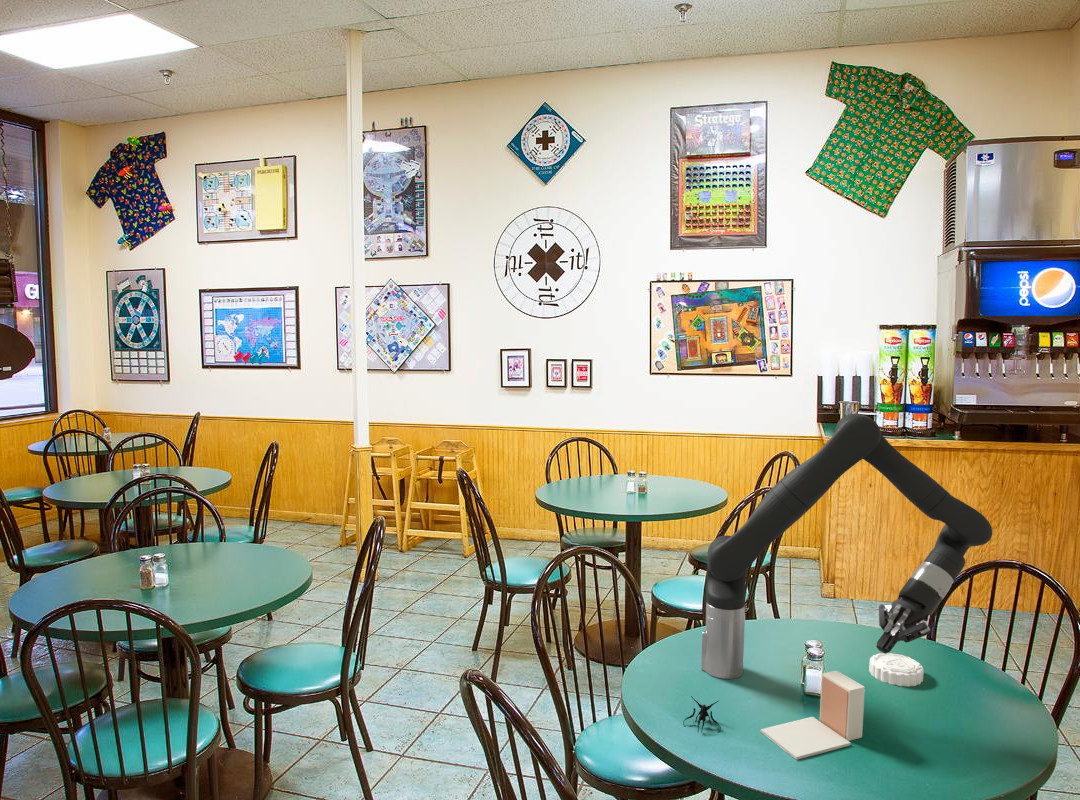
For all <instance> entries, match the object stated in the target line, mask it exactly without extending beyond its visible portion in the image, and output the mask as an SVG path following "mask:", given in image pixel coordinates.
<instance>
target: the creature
mask: <svg viewBox="0 0 1080 800" xmlns="http://www.w3.org/2000/svg"><path fill="white" fill-rule="evenodd" d="M690 698H691V699H692V700H693V701H694V702H695V703H696V704H697V706H698V707H699V708H700V711H698V713H697V715H696V717H695V720H694V721H693V724H694V722H697V725H696V724H694V725H690V726H688V728H690V727H695V726H697V732H699V729H700V723H701V721H702V725H701V730H700V731H701V733H703V728H704V727H705V722H706V721H707V718H706V717H708V721H709V725H710V727H712V723H711V721H712V722H714V723H715V724H717V726H718V727H719V730H718V731H716V733H717V734H718V733H719V732H721V729H722V728H721V726H720V724H719V723H718V722H717V721H716V719H714V717H713V711H712V710H710V709H712V707H713V706H715V704H717V703H718V702H719V700H717V701H715V702H713V703H711V704H710V705H707V706H706V704H700V703H699V701H698V700H696V699H695V698H694V697H693V696H692V695H690ZM709 710H710V711H709ZM708 711H709V712H710V715H709V712H708ZM695 714H696V707H694V708H693V713H692V714H691V715H689V716H687V717H686V718H685V719H684V720H683V721H682V724H683V727H684V728H687V726H686V725H685V721H686V720H688V719H691V718H693V717H694V716H695ZM698 716H699V717H698ZM710 727H709V726H708V727H707V729H710V730H711V731H712V732H714V729H713V728H710Z"/></svg>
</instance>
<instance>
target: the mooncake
mask: <svg viewBox="0 0 1080 800" xmlns="http://www.w3.org/2000/svg"><path fill="white" fill-rule="evenodd" d="M868 669H869V670H868V671H869V674H871V677H872V676H873V677H875V679H876V680H879V681H880V682H882V683H886V684H887V683H888V684H889V685H892V686H895V685H896V686H897V687H915V686H918V685H921V684H922V683H923V681H924V667H923V666H922V664H921V663H920V662H918V661H917V660H915V659H913V658H911V657H910V656H906V655H903V654H897V653H890V652H888V653H887V654H885V653H883V652H881V653H877V654H874V655H872V656H871V657H870V658H869V668H868Z"/></svg>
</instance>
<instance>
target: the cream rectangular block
mask: <svg viewBox="0 0 1080 800" xmlns="http://www.w3.org/2000/svg"><path fill="white" fill-rule="evenodd" d="M820 681H821V683H820V685H821V686H820V687H821V688H820V702H819V703H820V704H819V707H820V708H819V721H820V722H821V723H823V724H824V725H826V726H827V727H829V728H830V729H831V730H833V731H834V732H836V733H837V734H839V735H840V736H842V737H843V738H845V739H846V740H847V741H849V742H850V741H853V740H856V739H857V740H858V739H861V738H863V729H864V728H863V726H864V712H865V711H864V709H865V690H866V688H865V686H864V685H862V684H860V683H858V682H857V681H855V680H854V679H852V678H850V677H849V676H847V675H845V674H843V673H841V672H840V671H838V670H832V671H827V672H824V673H823V672H822V673H821V680H820Z"/></svg>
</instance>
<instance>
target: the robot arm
mask: <svg viewBox="0 0 1080 800" xmlns="http://www.w3.org/2000/svg"><path fill="white" fill-rule="evenodd" d="M834 430H835V431H834V434H833V435H832V436H831V437H830V438H829V439H828V441H826V442H825V444H824V445H823V446H822V447H821V448H820V449H819V450H818V451H817V452H816V453H815V454H814V455H813V456H811V457H810V458H809V459H807V460H805V461H804V462H802V463H800V464H799V465H798V466H796V467H795V468H793V469H792V470H791V471H789V472H788V473H787V474H785V475H784V476H783V477H782V478H781V479H780V480H779V481H777V483H776V484H775V485H773V487H771V489H770V490H769V491H768V492H766V494H765V495H764V497H763V498H762V499H761V500H760V501H759V503H758V505H757V506H756V507H755V509H754V510H753V512H752V513H751V515H750V517H749V518H748V519H747V520H746V521H745V523H744V524H743V525H742V526H741V527H740V528H739V529H738V530H737V531H735V533H733V534H732V535H721V536H718V537H716V538H715V539H713V541H711V542H710V543H709V546H708V549H707V560H706V561H707V562H706V563H707V564H706V567H707V569H706V575H707V576H706V598H705V599H706V601H705V602H706V604H705V605H706V606H705V630H704V631H702V634H701V662H700V663H701V665H700V666H701V667H700V669H701V670H702V671H705V672H706V673H707V674H709V675H710V676H712V677H715V678H719V679H728V680H729V679H735V678H736V679H737V678H739V677H741V676H742V675H743V674H744V655H745V651H744V650H745V649H744V648H745V626H746V625H745V622H746V621H745V619H746V593H747V591H746V578H747V577H746V575H747V573H746V572H747V570H748V569H749V568H750V567H751V566H752V565H753V564H754V562H755V561H756V559H758V558H759V556H760V555H761V554H762V553H763V551H764V550H766V548H768V547H769V545H770V546H771V544H772V543H773V542H775V540H777V539H778V538H779V537H780V536H781V535H783V534H784V533H785V532H786V531H787V530H788V529H790V528H791V527H792V526H793V525H794V524H795V523H796V522H797V521H799V520H800V518H802V517H803V516H804V515H805V514H806V513H807V512H809V510H810V509H812V507H813V506H815V504H817V502H818V501H820V499H821V498H822V497H823V496H824V495H825V494H826V493H827V492H828V491H829V490H830V488H832V486H834V484H835V483H836V481H838V479H840V477H841V476H842V475H844V473H846V472H847V471H849V470H850V469H851V468H853V466H855V465H856V464H858V463H859V462H861V460H864V461H866V462H867V463H868V464H869V465H871V466H872V467H873V468H875V470H877V471H878V472H879V473H880V474H881V475H882V476H883V477H885V478H886V480H888V481H889V482H890V484H892V486H894V487H895V489H896V490H898V491H899V492H900V493H901V494H902V496H904V497H905V498H906V499H907V500H908V501H909V502H910V503H911V504H912V505H913V506H915V507H916V508H917V509H919V510H920V512H922V513H923V514H924V515H925V516H926V517H927V518H929V519H931V520H935V521H939V522H942V523H943V524H944V525H943V527H942V529H941V530H940V533H939V534H938V537H937V539H936V541H935V543H934V546H933V548H932V549H931V550H930V552H929V553H928V555H927V556H926V558H925V559H923V562H921V564H920V565H919V566H918V567H917V568H916V569H915V570H914V572H913V573H912V574H911V575H910V578H908V579H907V581H906V583H905V584H904V585H903V587H902V588H901V589H900V590H899V592H898V596H897V599H895V600H893V601H892V602H891V604H888V605H884V604H883V603H881V604H879V605H878V619H879V620H878V622H879V623H878V625H879V627H880V628H881V629H882V631H883V633H882V635H880V636H879V639H878V640H877V641H876V646H875V647H876V649H878V651H880V652H881V653H882V654H883V653H885V654H887V653H890V652H892V650H893V648H894V647H895V646H896V644H897V643H899V642H901V641H902V642H904V643H910V642H913V641H915V640H917V639H920V638H922V637H925V636H928V635H929V634H931V633H932V629H931V628H930V627H929V625H928V623H927V622H928V620H929V616H931V615H933V614H934V612H935V611H936V609H937V608H938V607H939V605H940V604H941V602H942V601H943V600H944V598H945V597H946V596H947V594H948V592H949V591H950V589H951V587H952V584H953V583H954V582H955V581H956V579H957V578H958V577H959V575H960V574H961V572H962V570H963V569H964V567H965V565H966V559H965V555H966V553H967V551H968V550H969V549H970V548H972V547H979V546H980V547H981V546H983V545H985V544H987V543H988V542H989V541H991V539H992V537H993V527H992V525H991V523H990V522H989V520H988V519H987V518H986V516H984V515H983V513H981V512H980V511H978V510H977V509H975V508H973V507H972V506H970V505H969V504H968V503H965V502H964V501H962V500H960V499H958V498H956V497H955V496H953V495H952V494H951V493H950V492H949V491H948V490H946V488H945V487H943V486H942V485H941V484H940V483H938V482H937V481H936V480H935V479H934V478H932V477H931V476H930V475H929V474H927V473H926V472H925V471H924V470H922V469H921V468H920V467H918V466H917V465H916V464H914V463H913V462H912V461H910V460H909V459H908V458H907V457H905V456H904V455H903V454H902V453H901V452H900V451H898V450H897V449H896V448H895V447H894V446H892V444H891V443H890V442H889V441H888V440H887V439H886V438H885V437H884V436H883V434H882V432H881V429H880V426H879V425H878V423H877V422H876V421H875V420H874V419H872V417H869V416H868V415H865V414H863V413H850V414H846V415H844V416H842V418H840V419H839V420H838V422H837V423H836V426H835V428H834Z"/></svg>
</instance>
